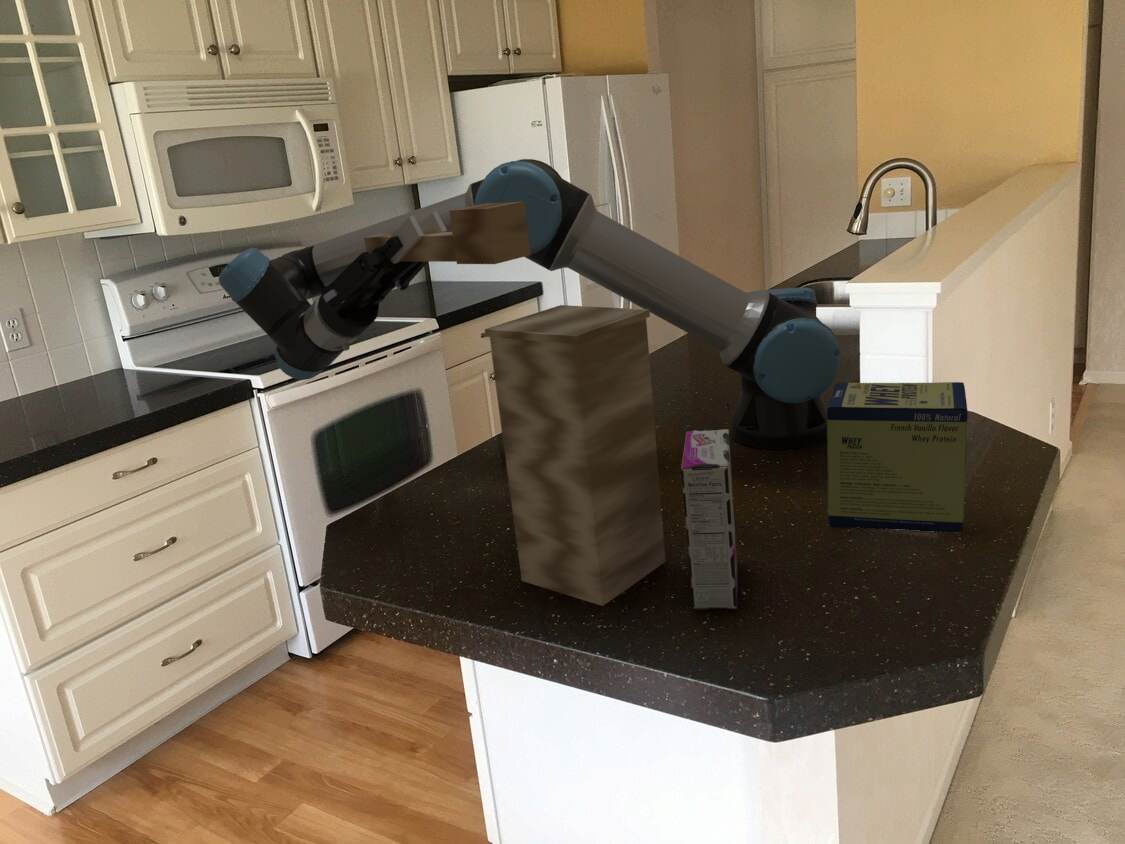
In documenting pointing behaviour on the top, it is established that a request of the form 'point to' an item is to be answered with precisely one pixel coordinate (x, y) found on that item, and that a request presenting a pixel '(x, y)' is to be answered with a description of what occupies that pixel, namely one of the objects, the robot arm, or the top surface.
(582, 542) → the block
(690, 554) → the candy bar box
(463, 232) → the mallet
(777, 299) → the robot arm
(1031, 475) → the top surface
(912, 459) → the protein box
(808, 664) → the top surface
